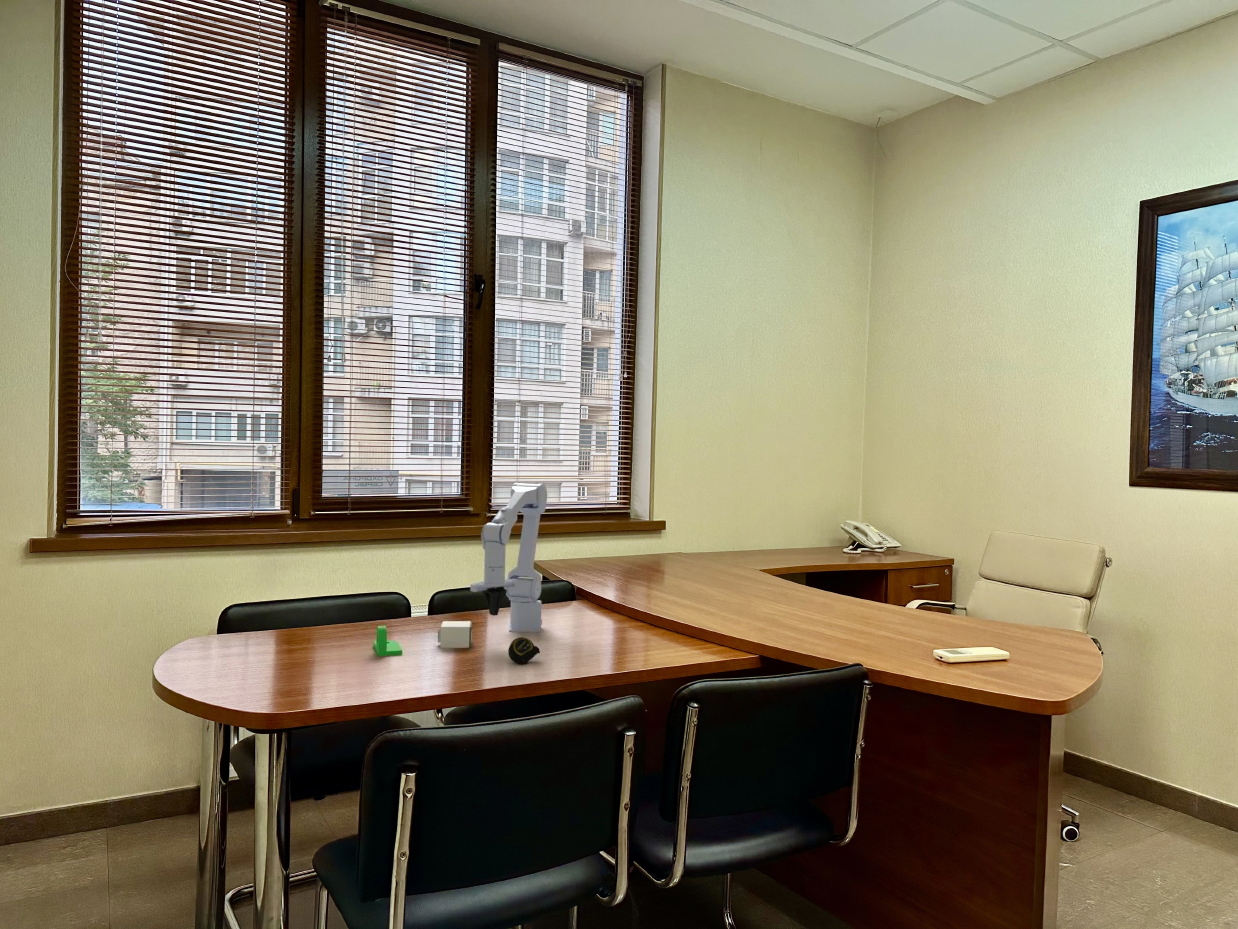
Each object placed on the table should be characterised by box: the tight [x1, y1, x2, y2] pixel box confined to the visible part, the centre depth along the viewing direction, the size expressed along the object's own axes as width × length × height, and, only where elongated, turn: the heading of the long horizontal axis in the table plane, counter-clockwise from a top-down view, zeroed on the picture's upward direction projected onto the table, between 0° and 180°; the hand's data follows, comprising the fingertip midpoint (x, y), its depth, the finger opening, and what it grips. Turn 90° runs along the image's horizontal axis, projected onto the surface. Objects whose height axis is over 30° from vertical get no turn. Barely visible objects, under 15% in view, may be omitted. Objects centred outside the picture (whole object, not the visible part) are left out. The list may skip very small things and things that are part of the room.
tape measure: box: [507, 636, 541, 666], centre depth 221 cm, size 7×7×4 cm
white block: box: [440, 620, 473, 649], centre depth 238 cm, size 8×7×6 cm
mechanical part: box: [372, 625, 403, 657], centre depth 230 cm, size 12×6×8 cm, turn 22°
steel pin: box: [437, 628, 473, 644], centre depth 238 cm, size 9×4×4 cm, turn 97°
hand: (493, 614), depth 241 cm, fingers closed
